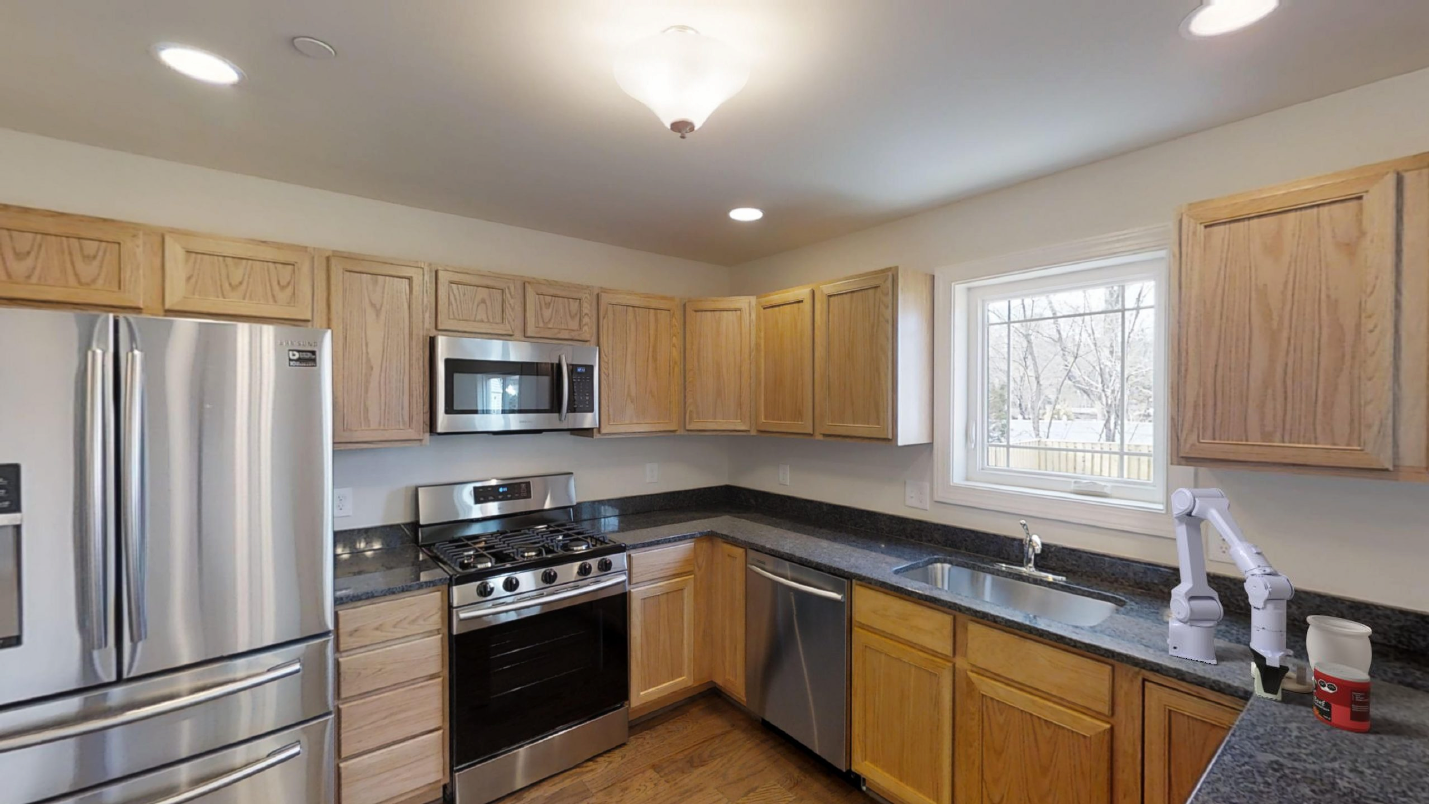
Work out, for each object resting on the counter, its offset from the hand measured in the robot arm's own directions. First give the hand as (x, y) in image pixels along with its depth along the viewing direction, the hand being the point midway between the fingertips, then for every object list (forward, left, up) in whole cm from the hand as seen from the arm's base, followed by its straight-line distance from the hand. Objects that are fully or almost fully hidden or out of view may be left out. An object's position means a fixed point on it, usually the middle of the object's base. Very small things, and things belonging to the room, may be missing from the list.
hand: (1267, 686), depth 132 cm
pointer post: (-1, +9, -2) cm, 9 cm away
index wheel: (+4, +9, -2) cm, 10 cm away
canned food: (+10, -6, -2) cm, 12 cm away
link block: (0, 0, -2) cm, 2 cm away
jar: (+14, +16, -2) cm, 21 cm away
